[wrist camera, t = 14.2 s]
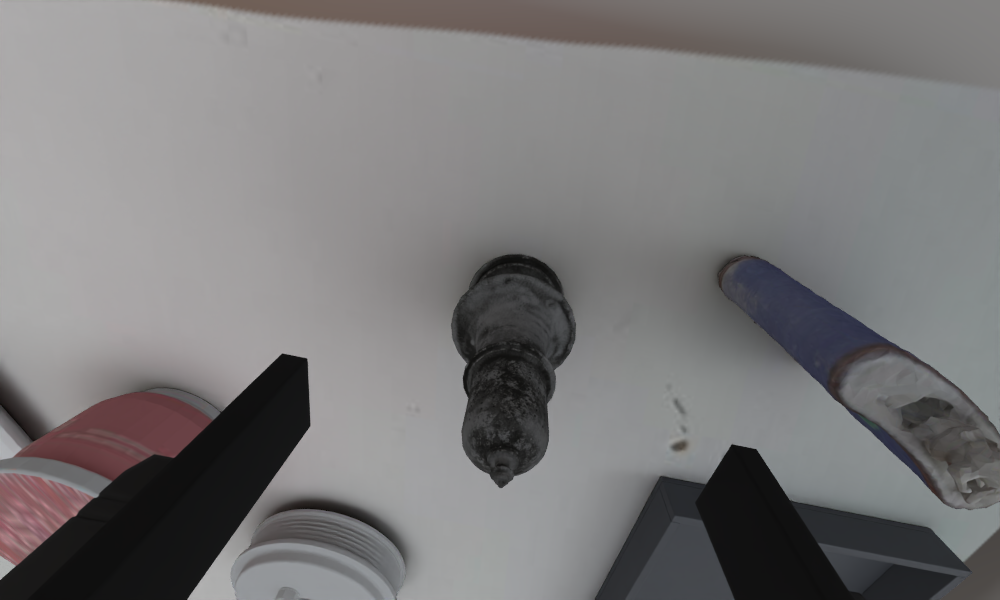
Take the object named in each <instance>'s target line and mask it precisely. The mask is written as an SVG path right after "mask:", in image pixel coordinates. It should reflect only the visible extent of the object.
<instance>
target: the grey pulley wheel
mask: <svg viewBox="0 0 1000 600" xmlns="http://www.w3.org/2000/svg"><path fill="white" fill-rule="evenodd" d="M405 576H406V568H405V563H404V560H403V558H402V556H401V554H400V552H399V551H398V549H397V548H396V547H395V546H394V544H393V543H392V542H391V541H390V540H389V539H387V538H386V537H385V536H384V535H383V534H381V533H380V532H379V531H377V530H376V529H374V528H372V527H371V526H369V525H367V524H365V523H363V522H361V521H359V520H357V519H354V518H351V517H348V516H346V515H342V514H338V513H335V512H330V511H324V510H315V509H297V510H289V511H285V512H281V513H278V514H275V515H273V516H271V517H269V518H267V519H266V520H264V521H263V522H262V523H261V524H260V525H259V526H258V528H257V529H256V531H255V532H254V534H253V537H252V540H251V545H250V546H249V548H248V549H246V550H245V551H244V552H242V553H241V554H240V555H239V557H238V558H237V559H236V561H235V562H234V564H233V566H232V569H231V582H232V585H233V588H234V590H235V595H236V598H237V600H397V598H396V596H397V592H398V591H399V590H400V589H401V587H402V585H403V583H404V580H405Z"/></svg>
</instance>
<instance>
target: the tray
mask: <svg viewBox="0 0 1000 600" xmlns="http://www.w3.org/2000/svg"><path fill="white" fill-rule="evenodd" d="M705 486H706V485H702V484H697V483H692V482H687V481H681V480H676V479H671V478H666V477H660V479H659V481H658V483H657V485H656V486H655V488H654V490H653V492H652V494H651V496H650V498H649V499H648V501H647V503H646V505H645V507H644V509H643V511H642V513H641V514H640V516H639V518H638V520H637V522H636V524H635V526H634V528H633V529H632V531H631V533H630V535H629V537H628V539H627V541H626V542H625V544H624V546H623V548H622V550H621V552H620V554H619V556H618V557H617V559H616V561H615V563H614V565H613V567H612V569H611V571H610V572H609V574H608V576H607V578H606V580H605V582H604V584H603V586H602V587H601V589H600V591H599V593H598V595H597V597H596V599H595V600H735V599H734V597H733V595H732V592H731V590H730V587H729V585H728V582H727V580H726V577H725V575H724V573H723V570H722V568H721V565H720V563H719V560H718V558H717V555H716V553H715V550H714V548H713V546H712V543H711V541H710V538H709V536H708V533H707V531H706V528H705V526H704V524H703V521H702V519H701V516H700V514H699V511H698V509H697V506H696V504H695V502H696V500H697V499H698V497H699V496H700V494H701V492H702V491H703V489H704V488H705ZM791 503H792V505H793V506H794V508H795V509H796V511H797V512H798V514H799V515H800V517H801V518H802V520H803V521H804V523H805V524H806V526H807V528H808V529H809V531H810V532H811V534H812V535H813V537H814V538H815V540H816V541H817V543H818V544H819V546H820V547H821V549H822V551H823V552H824V554H825V555H826V557H827V558H828V560H829V561H830V563H831V564H832V566H833V567H834V569H835V570H836V572H837V573H838V575H839V577H840V578H841V580H842V581H843V583H844V584H845V586H846V587H847V589H848V590H849V591H853V592H858V593H860V594H861V595H862V596H863V597H864V598H865V599H866V600H940V599H941V598H942V597H943V596H945V595H946V594H947V593H948V592H950V591H951V590H952V589H953V588H955V587H956V586H957V585H958V584H960V583H961V582H962V581H963V580H965V578H966V577H968V576H969V575H970V574H972V571H970V569H969V568H968V567H967V566H966V565H965V564H964V563H963V562H962V561H961V560H960V559H959V558H958V557H957V556H956V555H955V554H954V553H953V552H952V551H951V550H950V549H949V548H948V547H947V546H946V545H945V543H944V542H943V541H942V540H941V539H940V538H939V537H938V536H937V535H935V533H934V532H933V531H932V530H931V529H930V528H925V527H919V526H914V525H909V524H904V523H899V522H894V521H888V520H883V519H878V518H873V517H868V516H863V515H857V514H852V513H847V512H842V511H837V510H831V509H826V508H821V507H816V506H811V505H806V504H800V503H795V502H791Z"/></svg>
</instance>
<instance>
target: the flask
mask: <svg viewBox="0 0 1000 600" xmlns="http://www.w3.org/2000/svg"><path fill="white" fill-rule="evenodd" d="M740 259H741V260H740ZM736 260H738V261H736ZM733 261H735V262H733ZM731 262H733V263H731ZM729 263H730V264H729ZM729 263H728V264H727V265H726V266H725V268H723V269H722V271H720V273H718V277H719V287H720V288H721V290H722V291H723V292H724V294H725V296H727V297H728V299H730V300H731V301H733V302H735V303H736V304H737V305H738V306H739V307H740V308H741V309H742V310H743V311H744V312H745V313H746V314H748V315H749V316H750V317H751V318H752V319H753V320H754V323H756V324H758V325H759V326H760V327H762V328H763V329H764V330H765V331H766V332H767V333H768V334H769V335H770V336H771V337H772V338H773V339H775V340H776V341H777V342H778V343H779V344H780V345H781V346H782V347H783V348H784V349H785V350H786V351H787V353H789V354H790V355H791V356H792V357H793V358H794V360H796V361H797V362H798V363H799V364H800V365H801V366H802V367H803V368H804V369H805V370H806V371H807V372H808V373H810V375H811V376H812V377H813V378H815V379H816V380H817V381H818V382H819V383H820V384H821V385H822V386H823V387H824V388H825V389H826V391H827V392H828V393H829V394H830V395H831V396H832V397H833V398H834V399H835V400H836V401H838V402H839V403H841V404H842V405H843V406H844V407H845V408H846V409H847V410H848V411H849V413H850V414H851V415H852V416H853V417H854V418H855V419H857V420H858V421H859V422H860V423H861V424H862V425H864V426H865V427H866V428H867V429H868V430H870V431H871V432H872V433H873V434H874V435H875V436H876V437H877V438H878V439H879V440H880V441H881V442H882V443H883V444H884V445H885V446H886V447H887V448H888V449H889V450H890V451H891V452H892V453H893V454H895V455H896V456H897V457H898V458H899V459H900V460H901V461H902V462H904V463H905V464H906V465H907V466H908V467H909V468H910V469H911V470H912V471H913V472H914V473H915V474H916V475H918V476H919V478H920V479H921V480H922V481H923V482H924V484H925V485H926V486H927V487H928V488H929V489H930V490H931V491H932V492H933V493H934V494H935V495H936V496H937V497H938V498H939V499H940V500H941V501H942V502H943V503H944V504H946V505H947V506H950V507H952V508H955V509H962V508H965V509H968V510H973V509H977V508H987V507H989V506H991V505H993V504H995V503H997V502H1000V434H999V433H998V431H997V429H996V427H995V426H994V425H993V424H992V423H991V422H990V421H989V419H988V416H987V415H985V414H984V413H983V412H982V411H981V410H980V409H979V407H978V406H976V405H975V404H974V403H973V402H972V401H971V400H970V399H969V397H968V396H967V395H966V394H965V393H964V392H963V391H962V390H960V389H959V388H958V387H957V386H956V385H954V384H953V383H952V382H950V381H949V380H948V379H946V378H945V377H944V376H942V375H941V374H940V373H939V372H938V371H937V370H935V369H934V368H932V367H931V366H930V365H928V364H926V363H924V362H923V361H921V360H920V359H918V358H917V357H916V356H914V355H913V354H911V353H910V352H908V351H906V350H903V349H901V348H900V347H899V346H897V345H896V344H894V343H892V342H890V341H888V340H887V339H885V338H883V337H882V336H880V335H879V334H877V333H876V332H874V331H873V330H871V329H869V328H868V327H866V326H865V325H864V324H862V323H861V322H859V321H858V320H856V319H855V318H853V317H852V316H850V315H848V314H847V313H845V312H844V311H842V310H841V309H839V308H837V307H835V306H833V305H832V304H831V303H829V302H828V301H826V300H825V299H824V298H822V297H820V296H818V295H816V294H815V293H814V292H812V291H811V290H810V289H808V288H806V287H805V286H803V285H802V284H800V283H799V282H798V281H795V280H794V279H793V278H791V277H790V276H789V275H787V274H786V273H784V272H783V271H782V270H781V269H779V268H777V267H775V266H774V265H772V264H770V263H769V262H767V261H765V260H762V259H760V258H758V257H754V256H751V257H749V256H746V255H744V256H742V257H737V258H735V259H733V260H731V261H730V262H729Z"/></svg>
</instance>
